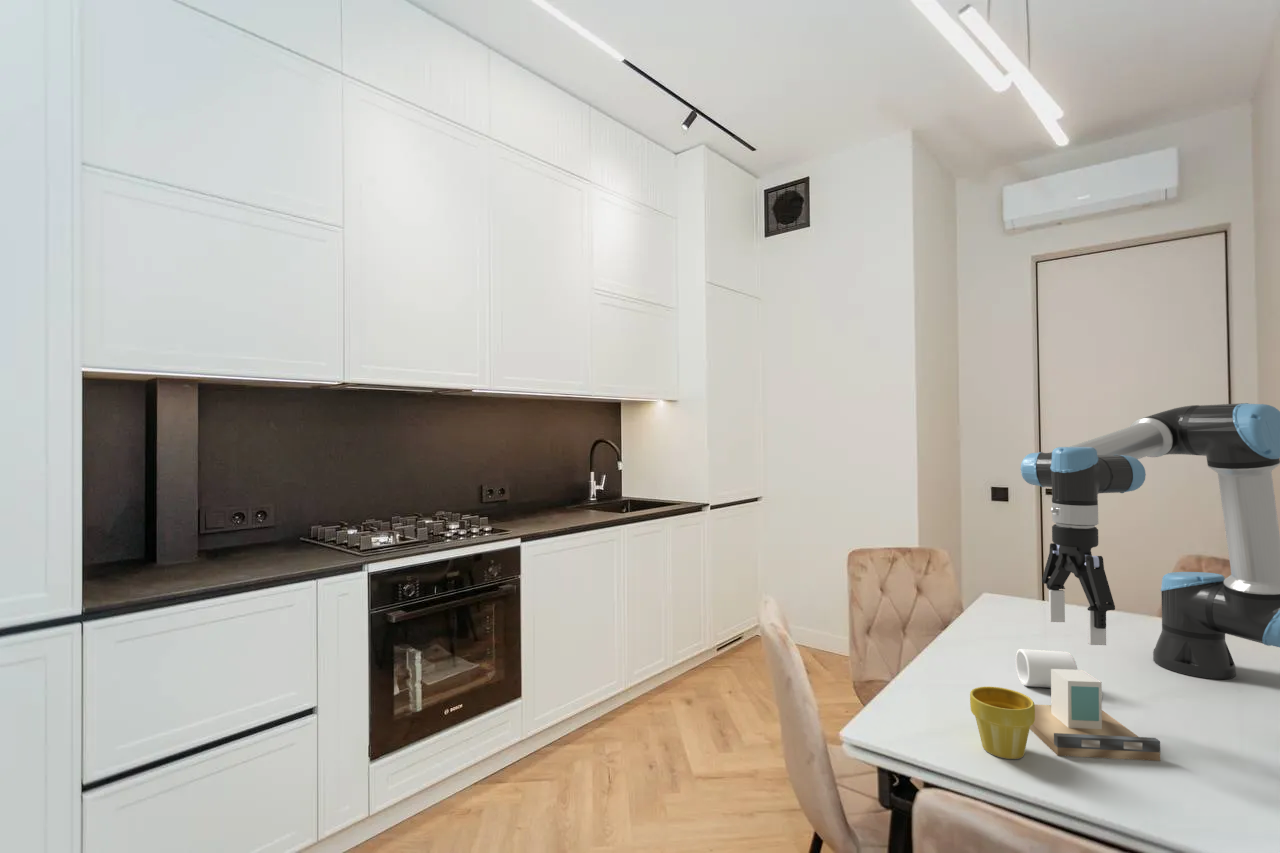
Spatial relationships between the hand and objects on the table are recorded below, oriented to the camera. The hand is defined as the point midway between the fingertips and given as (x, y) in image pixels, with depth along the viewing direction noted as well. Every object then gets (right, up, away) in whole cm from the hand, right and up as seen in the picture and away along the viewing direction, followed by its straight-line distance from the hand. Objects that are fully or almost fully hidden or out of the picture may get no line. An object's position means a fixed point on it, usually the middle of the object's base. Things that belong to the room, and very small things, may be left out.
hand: (1075, 632), depth 123 cm
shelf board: (-1, -19, -3) cm, 19 cm away
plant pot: (-20, -19, -9) cm, 29 cm away
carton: (-1, -17, -1) cm, 17 cm away
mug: (+7, -19, +21) cm, 29 cm away
